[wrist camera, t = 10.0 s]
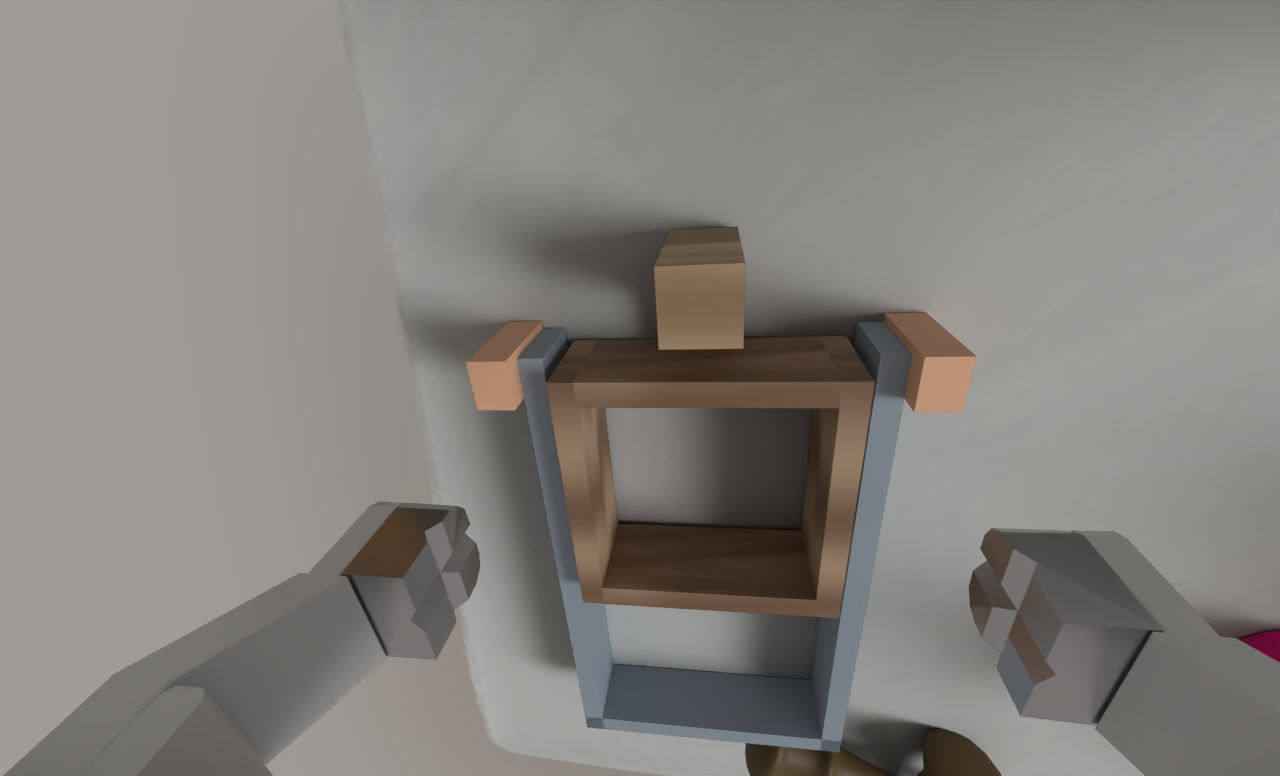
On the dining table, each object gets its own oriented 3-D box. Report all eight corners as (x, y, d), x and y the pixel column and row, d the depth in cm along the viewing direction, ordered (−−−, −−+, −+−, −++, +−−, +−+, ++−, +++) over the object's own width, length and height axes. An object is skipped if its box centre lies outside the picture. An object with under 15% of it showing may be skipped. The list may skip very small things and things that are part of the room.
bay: (508, 321, 27) (465, 361, 22) (925, 312, 24) (976, 356, 19) (576, 671, 39) (557, 742, 35) (853, 694, 36) (873, 776, 32)
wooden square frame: (560, 235, 24) (506, 272, 18) (859, 220, 22) (916, 256, 16) (601, 537, 32) (573, 634, 26) (820, 546, 30) (847, 654, 24)
